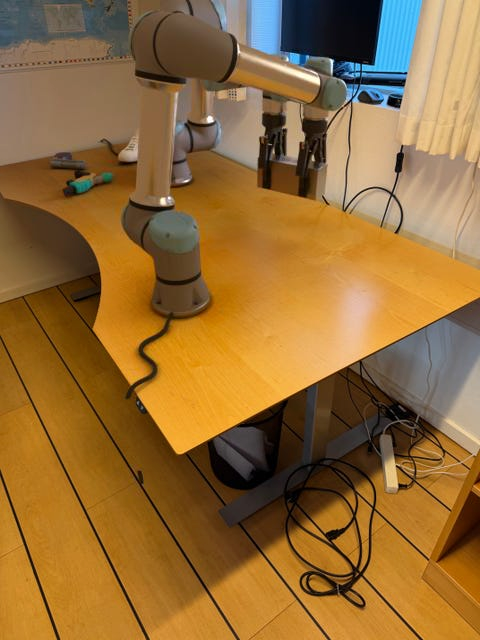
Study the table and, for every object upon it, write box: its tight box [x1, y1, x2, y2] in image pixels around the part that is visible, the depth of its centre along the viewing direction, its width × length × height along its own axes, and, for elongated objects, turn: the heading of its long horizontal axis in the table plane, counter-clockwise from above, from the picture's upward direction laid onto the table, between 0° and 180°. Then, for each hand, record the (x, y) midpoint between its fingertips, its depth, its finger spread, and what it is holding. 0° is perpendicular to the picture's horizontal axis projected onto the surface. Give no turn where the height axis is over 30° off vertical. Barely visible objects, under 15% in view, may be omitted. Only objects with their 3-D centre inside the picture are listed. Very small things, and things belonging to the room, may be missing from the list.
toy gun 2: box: [62, 169, 114, 197], centre depth 193 cm, size 4×26×15 cm
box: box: [256, 152, 329, 202], centre depth 154 cm, size 22×7×10 cm, turn 56°
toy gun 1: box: [48, 151, 87, 170], centre depth 217 cm, size 4×19×15 cm
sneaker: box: [117, 127, 139, 163], centre depth 223 cm, size 10×29×12 cm, turn 163°
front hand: (309, 191), depth 153 cm, fingers open, 9 cm apart
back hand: (272, 184), depth 159 cm, fingers closed on box, 7 cm apart
